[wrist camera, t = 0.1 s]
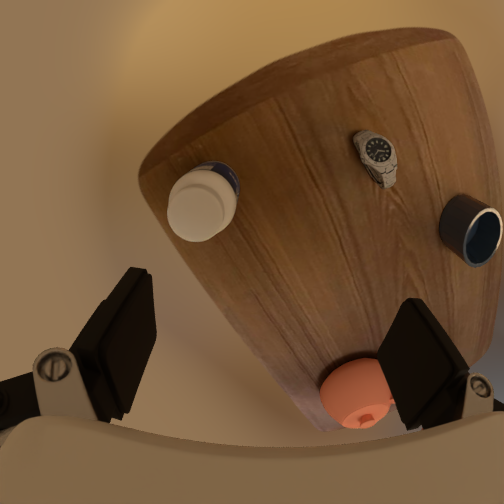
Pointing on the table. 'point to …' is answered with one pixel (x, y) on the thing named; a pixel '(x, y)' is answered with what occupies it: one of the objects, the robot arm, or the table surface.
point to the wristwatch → (377, 157)
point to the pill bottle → (203, 201)
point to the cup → (471, 229)
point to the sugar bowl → (357, 394)
